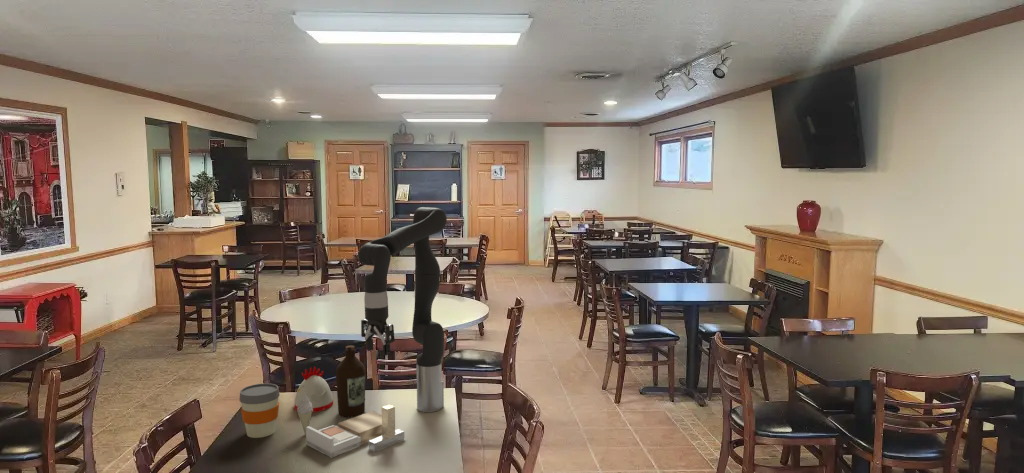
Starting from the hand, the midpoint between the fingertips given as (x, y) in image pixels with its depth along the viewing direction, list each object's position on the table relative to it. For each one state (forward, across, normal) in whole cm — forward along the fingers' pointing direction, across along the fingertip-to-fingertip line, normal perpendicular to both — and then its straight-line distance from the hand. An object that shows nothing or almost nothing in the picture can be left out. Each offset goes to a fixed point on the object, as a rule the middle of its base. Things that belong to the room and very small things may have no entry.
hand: (378, 352), depth 202 cm
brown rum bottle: (+29, +24, -5) cm, 38 cm away
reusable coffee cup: (+28, +33, +24) cm, 50 cm away
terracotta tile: (+27, +8, +13) cm, 31 cm away
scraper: (+29, -7, +4) cm, 30 cm away
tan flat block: (+28, +5, +2) cm, 29 cm away
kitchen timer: (+29, +41, -1) cm, 50 cm away
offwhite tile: (+27, +3, +13) cm, 30 cm away
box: (+28, +6, +15) cm, 32 cm away
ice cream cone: (+28, +20, +16) cm, 38 cm away
